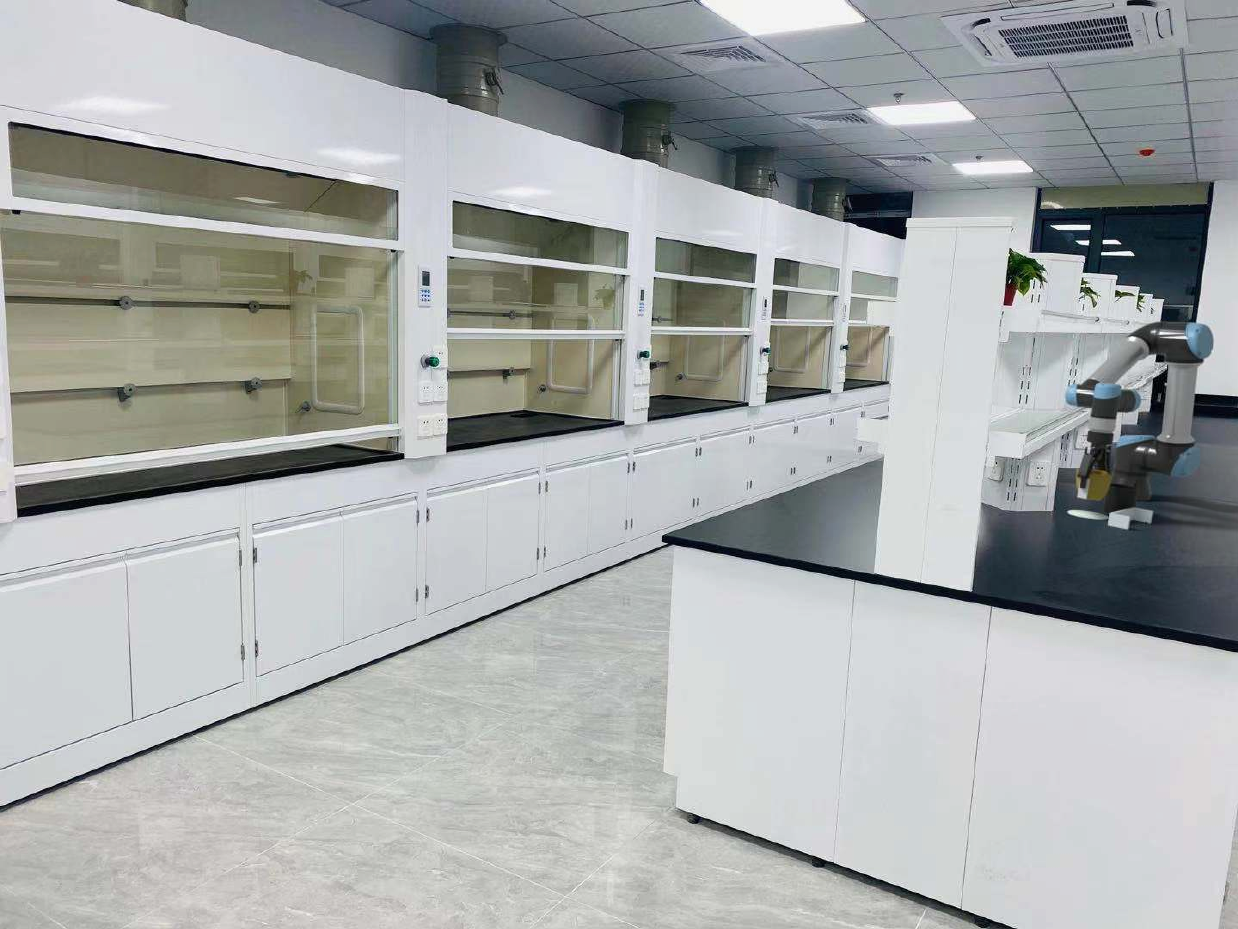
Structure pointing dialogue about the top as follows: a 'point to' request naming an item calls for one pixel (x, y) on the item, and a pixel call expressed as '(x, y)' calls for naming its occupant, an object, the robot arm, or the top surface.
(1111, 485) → the mug
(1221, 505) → the top surface
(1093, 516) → the pad
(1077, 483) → the flower pot
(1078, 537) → the top surface
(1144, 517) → the bracket
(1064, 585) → the top surface
